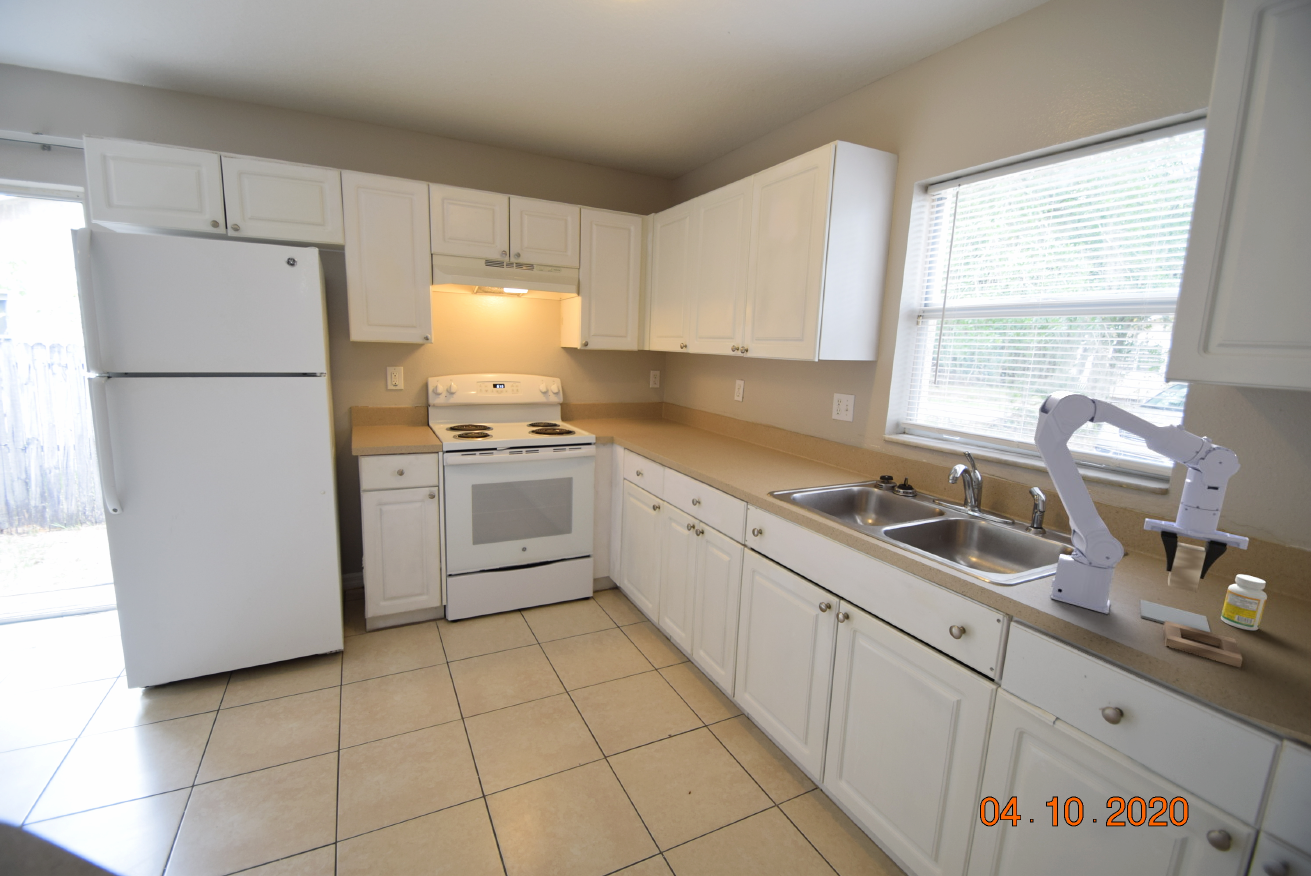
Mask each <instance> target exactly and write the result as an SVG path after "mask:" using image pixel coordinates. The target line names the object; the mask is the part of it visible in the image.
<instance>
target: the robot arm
mask: <svg viewBox="0 0 1311 876" xmlns="http://www.w3.org/2000/svg"><path fill="white" fill-rule="evenodd" d="M1037 420H1038V421H1037V425H1036V428H1035V434H1034V436H1033V437H1034V438H1033V440H1034V444H1035V446H1036V448H1037V450H1038V453H1039V455H1040V457H1041V460H1042V461H1043V463H1044V466H1045V468H1046V470H1047V473H1048V474H1049V477H1050V479H1051V481H1052V484H1053V486H1054V488H1055V489H1056V492H1057V494H1058V496H1059V498H1060V500H1061V503H1062V505H1063V507H1064V510H1065V511H1066V514H1067V516H1068V518H1069V519H1068V520H1069V523H1068V524H1069V526H1070V529H1071V536H1070V537H1071V538H1070V539H1071V544H1072V545H1073V546H1074V550H1073V551H1072V552H1071V555H1070V554H1064V553H1061V554H1059V557H1058V562H1057V565H1056V571H1055V575H1054V578H1052V582H1051V587H1052V590H1051V596H1050V599H1052V600H1056V601H1058V602H1059V601H1060V602H1062V603H1066V604H1071V605H1074V606H1078V607H1080V608H1084V609H1089V610H1092V611H1095V612H1099V613H1102V614H1107V615H1108V614H1109V612H1110V603H1111V600H1110V598H1109V597H1110V594H1111V592H1110V591H1111V588H1112V583H1113V579H1114V578H1113V577H1114V574H1115V569H1116V565H1117V564H1118V563H1120V561H1122V558H1124V554H1125V552H1124V551H1125V549H1124V546H1123V545H1122V543H1121V542H1120V541H1119V540H1118V539H1117V538H1115V537H1114V536H1113V535H1112V533H1111V532H1110V530H1109V528H1108V527H1107V524H1106V523H1105V522H1104V521H1103V519H1102V518H1101V516H1100V514H1099V513H1098V509H1097V507H1096V506H1095V504H1094V502H1093V500H1092V497H1091V495H1090V493H1089V490H1088V488H1087V486H1086V485H1085V482H1084V480H1083V478H1082V477H1083V476H1082V475H1081V472H1080V471H1079V469H1078V466H1077V464H1076V462H1075V459H1074V457H1073V455H1072V454H1071V451H1070V449H1069V447H1068V445H1067V443H1068V442H1069V440H1070V439H1071V438H1072V436H1073V434H1074V433H1075V432H1076V431H1077V430H1078V429H1080V428H1081V427H1082V426H1084V425H1085V424H1086V423H1088V422H1089V423H1092V424H1097V423H1099V424H1100V423H1106V424H1109V425H1111V426H1113V427H1116V428H1118V429H1120V430H1123V431H1125V432H1127V433H1130V434H1132V435H1135V436H1137V437H1139V438H1142V439H1144V442H1145V445H1146V447H1147V449H1148V450H1151V451H1153V452H1155V453H1157V454H1159V455H1161V456H1163V457H1166V458H1167V459H1170V460H1172V461H1174V462H1177V463H1179V464H1181V465H1183V466H1186V468H1188V469H1187V471H1186V472H1187V473H1186V477H1185V480H1184V485H1183V490H1182V493H1181V498H1180V503H1179V508H1178V511H1177V515H1176V520H1175V522H1173V521H1166V520H1159V519H1152V518H1145V520H1144V525H1143V530H1145V531H1154V532H1159V533H1160V538H1161V541H1162V544H1163V547H1164V550H1165V555H1166V557H1165V558H1166V567H1165V570H1166V572H1171V570H1172V566H1173V558H1174V553H1175V549H1176V546H1177V542H1178V538H1179V536H1180V537H1185V538H1191V539H1195V540H1201V541H1204V542H1205V546H1204V549H1205V552H1206V555H1205V559H1204V563H1203V567H1202V571H1201V575H1200V579H1201V580H1204V579H1205V577H1206V574H1207V573H1208V571H1209V570H1210V568H1211V567H1212V566H1213V564H1214V563H1215V562H1216V561H1218V559H1219V558H1220V557H1221V556H1223V555H1224V554H1225V553H1226V552H1227V549H1228V547H1227V546H1230V547H1235V548H1238V549H1240V550H1241V549H1242V550H1244V551H1245V550H1247V549H1248V546H1249V542H1250V539H1249V537H1247V536H1241V535H1238V534H1237V535H1236V534H1231V533H1228V532H1223V531H1220V530H1217V528H1218V525H1219V519H1220V516H1221V512H1222V508H1223V504H1224V499H1225V496H1226V491H1227V489H1228V487H1227V486H1228V483H1229V479H1230V478H1231V477H1232V476H1234V475H1235V474H1236V473H1238V471H1239V470H1240V469H1241V466H1242V464H1240V463H1239V458H1238V455H1236V452H1234V451H1233V450H1232V449H1230V448H1228V447H1225V446H1220V445H1218V444H1214V443H1212V441H1213V439H1212V438H1209V437H1207V436H1203V437H1201V436H1198V435H1196V434H1194V433H1192V432H1189V431H1187V430H1185V429H1186V426H1185V425H1182V424H1180V423H1173V424H1172V423H1170V422H1169V423H1168V422H1166V423H1162V424H1161V423H1160V424H1154V423H1153V422H1152V423H1151V422H1150V421H1147V420H1145V419H1143V418H1141V417H1139V416H1137V415H1136V414H1133V413H1131V412H1129V411H1127V410H1125V409H1123V408H1121V407H1118V406H1117V405H1114V404H1113V403H1110V402H1107V401H1104V400H1100V399H1097V398H1094V397H1089V396H1087V395H1085V394H1082V393H1073V392H1071V391H1066V390H1058V391H1055V392H1052V393H1050V394H1049V395H1048V396H1047V397H1046V399H1045V400H1044V401H1043V402H1042V403H1041V405H1040V406H1039V408H1038V419H1037ZM1200 579H1199V580H1200Z"/></svg>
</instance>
